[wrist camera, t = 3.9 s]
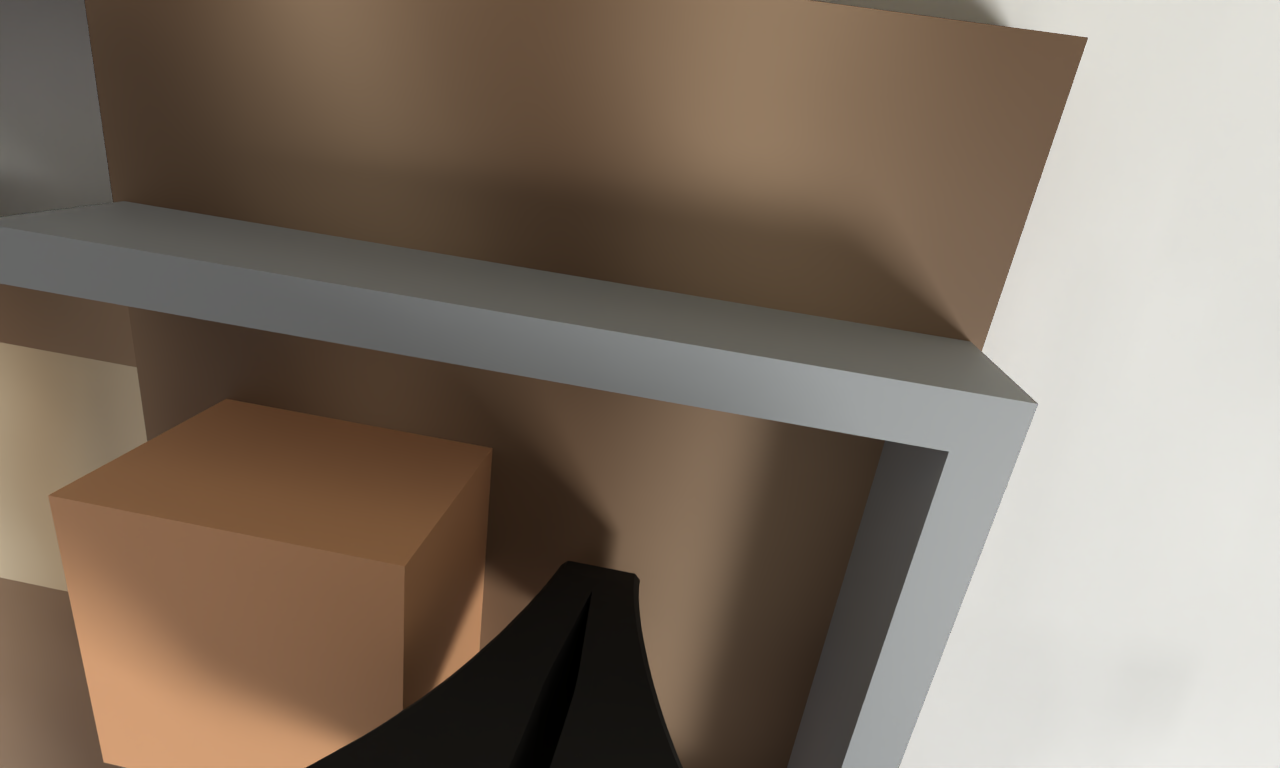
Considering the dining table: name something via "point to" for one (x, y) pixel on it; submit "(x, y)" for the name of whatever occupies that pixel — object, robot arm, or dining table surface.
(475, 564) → the block
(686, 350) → the gray rectangular frame
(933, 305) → the board
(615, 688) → the robot arm
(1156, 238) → the dining table surface
